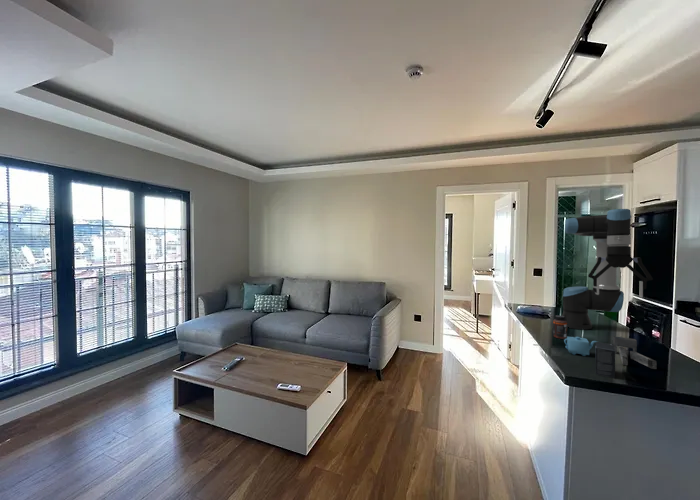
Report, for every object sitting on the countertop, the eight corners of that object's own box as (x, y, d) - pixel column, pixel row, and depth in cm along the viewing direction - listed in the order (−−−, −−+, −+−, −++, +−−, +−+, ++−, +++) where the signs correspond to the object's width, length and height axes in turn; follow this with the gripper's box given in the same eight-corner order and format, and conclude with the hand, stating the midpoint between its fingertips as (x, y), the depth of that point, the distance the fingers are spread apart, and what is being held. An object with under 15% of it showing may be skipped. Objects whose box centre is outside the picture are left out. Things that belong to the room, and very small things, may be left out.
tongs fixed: (619, 354, 132) (619, 346, 132) (627, 355, 130) (627, 348, 130) (622, 365, 120) (622, 357, 120) (632, 366, 118) (632, 358, 118)
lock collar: (613, 351, 135) (613, 336, 135) (635, 354, 130) (635, 339, 130) (614, 353, 132) (614, 338, 132) (636, 356, 128) (636, 341, 128)
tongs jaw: (629, 358, 127) (629, 350, 127) (633, 358, 126) (633, 351, 126) (652, 369, 116) (652, 361, 116) (656, 369, 116) (656, 361, 115)
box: (595, 367, 118) (595, 341, 118) (614, 371, 115) (614, 344, 114) (595, 374, 112) (595, 346, 112) (615, 378, 109) (615, 350, 108)
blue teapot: (596, 353, 133) (596, 337, 132) (599, 358, 127) (599, 341, 127) (563, 349, 139) (563, 333, 138) (565, 353, 133) (565, 337, 133)
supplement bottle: (569, 339, 152) (569, 317, 152) (556, 339, 153) (556, 317, 153) (563, 336, 158) (563, 314, 158) (551, 335, 159) (551, 314, 159)
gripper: (581, 246, 131) (581, 294, 131) (662, 245, 115) (662, 299, 115) (581, 245, 137) (581, 291, 137) (659, 245, 121) (659, 297, 121)
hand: (618, 295), depth 126 cm, fingers open, 13 cm apart
